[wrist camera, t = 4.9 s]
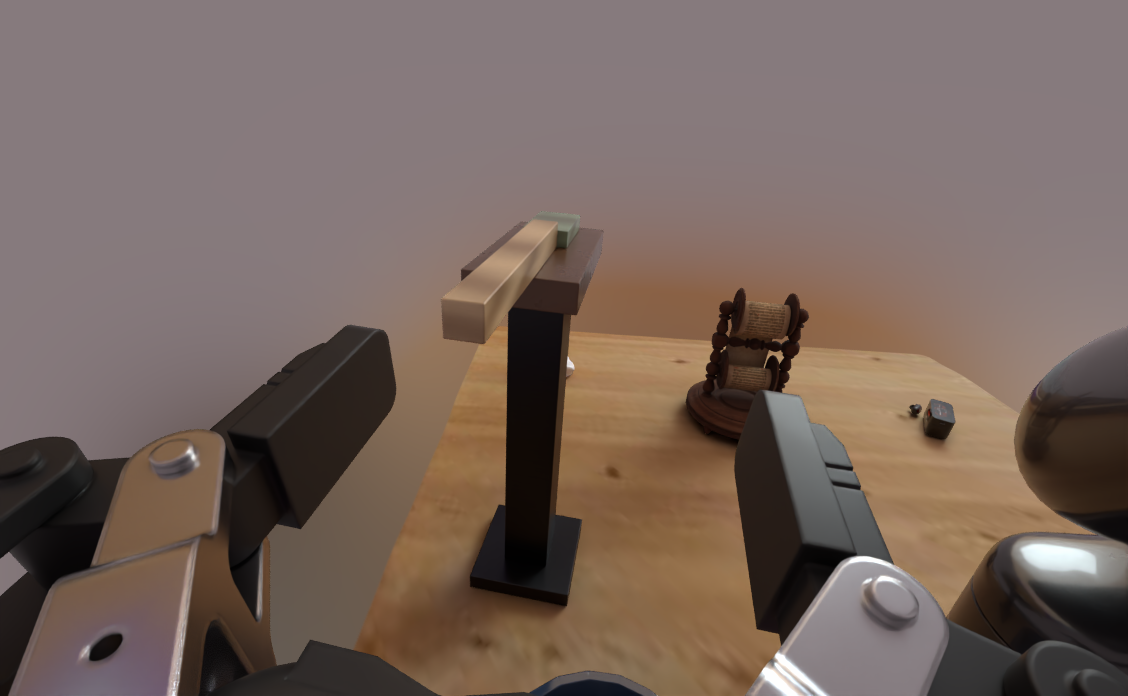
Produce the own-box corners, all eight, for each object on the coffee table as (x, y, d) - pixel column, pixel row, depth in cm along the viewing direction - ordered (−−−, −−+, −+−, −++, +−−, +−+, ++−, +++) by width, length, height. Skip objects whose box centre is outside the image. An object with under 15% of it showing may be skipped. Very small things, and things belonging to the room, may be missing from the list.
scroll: (773, 399, 78) (809, 280, 69) (800, 457, 65) (850, 320, 56) (680, 387, 79) (704, 269, 70) (689, 442, 66) (719, 305, 57)
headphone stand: (561, 633, 41) (597, 285, 27) (460, 611, 42) (444, 267, 28) (584, 512, 53) (615, 231, 40) (504, 498, 54) (509, 220, 41)
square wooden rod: (501, 347, 19) (501, 306, 19) (426, 337, 20) (423, 296, 19) (579, 230, 39) (580, 207, 38) (540, 226, 39) (541, 203, 39)
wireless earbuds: (942, 419, 76) (951, 402, 74) (946, 442, 70) (955, 423, 69) (908, 409, 78) (916, 392, 76) (908, 430, 72) (917, 412, 71)
